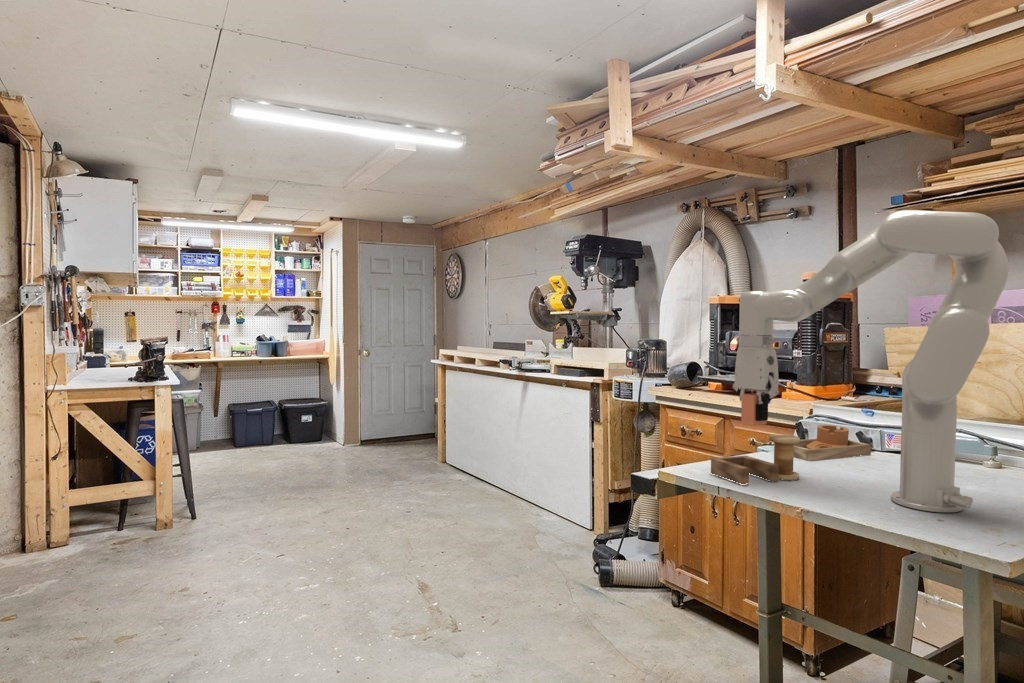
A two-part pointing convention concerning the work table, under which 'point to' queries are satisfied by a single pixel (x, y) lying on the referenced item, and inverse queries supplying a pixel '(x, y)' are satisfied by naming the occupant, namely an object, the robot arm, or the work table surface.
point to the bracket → (829, 437)
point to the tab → (750, 409)
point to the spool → (784, 454)
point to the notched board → (744, 468)
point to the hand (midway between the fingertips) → (754, 418)
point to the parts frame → (830, 451)
